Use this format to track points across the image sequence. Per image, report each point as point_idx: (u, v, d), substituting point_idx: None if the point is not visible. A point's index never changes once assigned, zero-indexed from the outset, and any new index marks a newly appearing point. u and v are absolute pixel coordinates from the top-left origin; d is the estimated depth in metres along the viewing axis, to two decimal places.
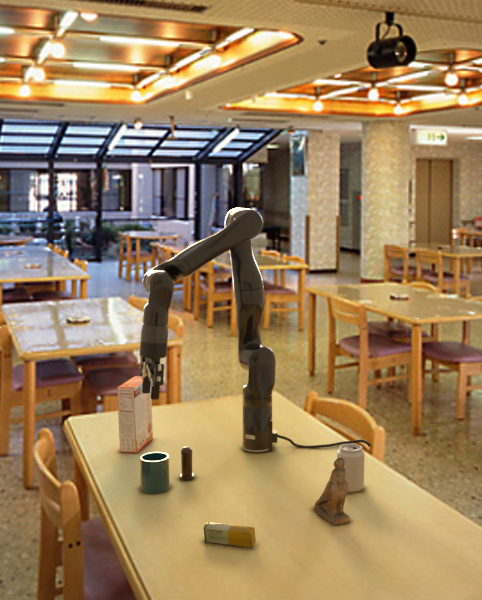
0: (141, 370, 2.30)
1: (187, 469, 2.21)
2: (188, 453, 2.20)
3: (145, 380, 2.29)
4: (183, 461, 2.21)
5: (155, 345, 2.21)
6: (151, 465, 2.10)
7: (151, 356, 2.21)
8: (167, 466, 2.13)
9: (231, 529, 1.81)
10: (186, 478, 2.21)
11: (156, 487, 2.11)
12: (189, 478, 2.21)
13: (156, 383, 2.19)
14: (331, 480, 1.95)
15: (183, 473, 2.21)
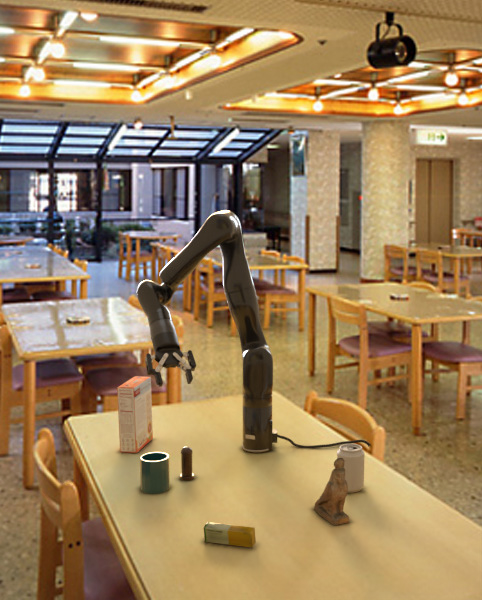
0: (190, 365, 2.36)
1: (187, 469, 2.21)
2: (188, 453, 2.20)
3: (186, 372, 2.33)
4: (183, 461, 2.21)
5: (152, 342, 2.36)
6: (151, 465, 2.10)
7: None
8: (167, 466, 2.13)
9: (231, 529, 1.81)
10: (186, 478, 2.21)
11: (156, 487, 2.11)
12: (189, 478, 2.21)
13: (147, 372, 2.29)
14: (331, 480, 1.95)
15: (183, 473, 2.21)
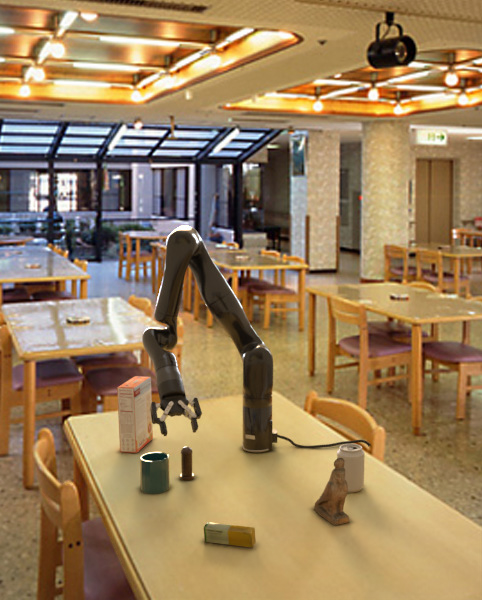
0: (196, 413, 2.33)
1: (187, 469, 2.21)
2: (188, 453, 2.20)
3: (191, 420, 2.30)
4: (183, 461, 2.21)
5: None
6: (151, 465, 2.10)
7: None
8: (167, 466, 2.13)
9: (231, 529, 1.81)
10: (186, 478, 2.21)
11: (156, 487, 2.11)
12: (189, 478, 2.21)
13: (152, 421, 2.26)
14: (331, 480, 1.95)
15: (183, 473, 2.21)
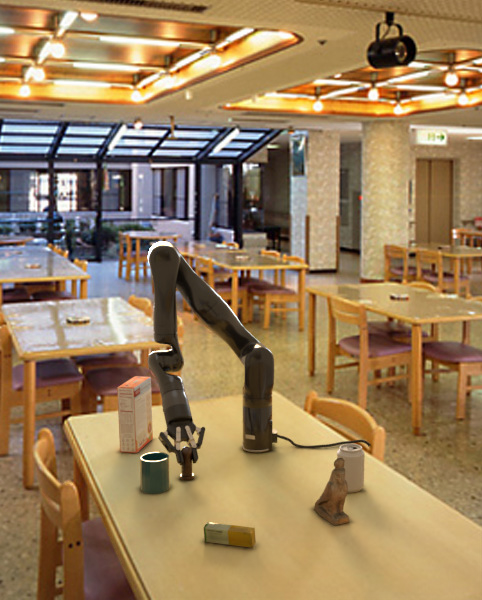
0: (198, 442, 2.26)
1: (186, 469, 2.21)
2: (188, 453, 2.20)
3: None
4: None
5: (164, 414, 2.28)
6: (151, 465, 2.10)
7: None
8: (167, 466, 2.13)
9: (231, 529, 1.81)
10: (186, 478, 2.21)
11: (156, 487, 2.11)
12: (189, 478, 2.21)
13: (168, 450, 2.21)
14: (331, 480, 1.95)
15: (183, 473, 2.21)
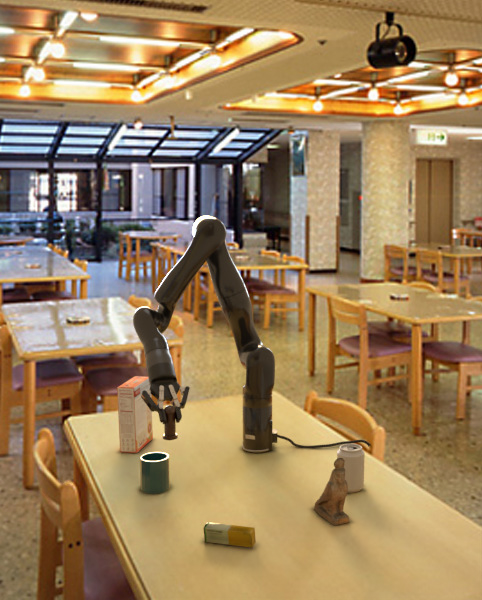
0: (182, 402, 2.21)
1: (170, 429, 2.15)
2: (171, 412, 2.15)
3: None
4: None
5: None
6: (151, 465, 2.10)
7: None
8: (167, 466, 2.13)
9: (231, 529, 1.81)
10: (169, 437, 2.15)
11: (156, 487, 2.11)
12: (172, 438, 2.15)
13: (151, 408, 2.16)
14: (331, 480, 1.95)
15: (166, 432, 2.16)
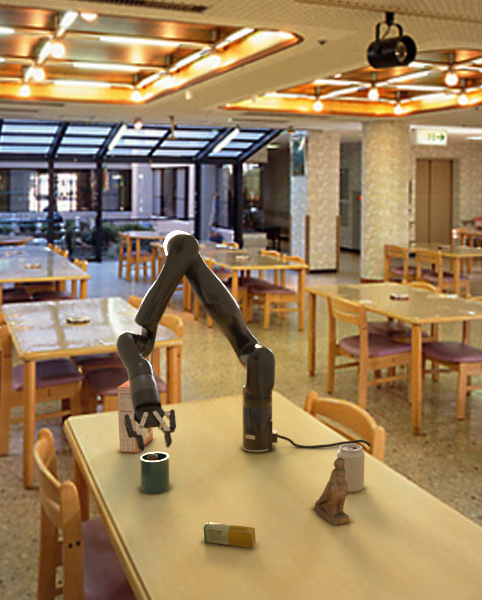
0: (170, 426, 2.18)
1: None
2: (154, 460, 2.12)
3: None
4: None
5: None
6: (151, 465, 2.10)
7: None
8: (167, 466, 2.13)
9: (231, 529, 1.81)
10: None
11: (156, 487, 2.11)
12: None
13: (128, 435, 2.12)
14: (331, 480, 1.95)
15: None
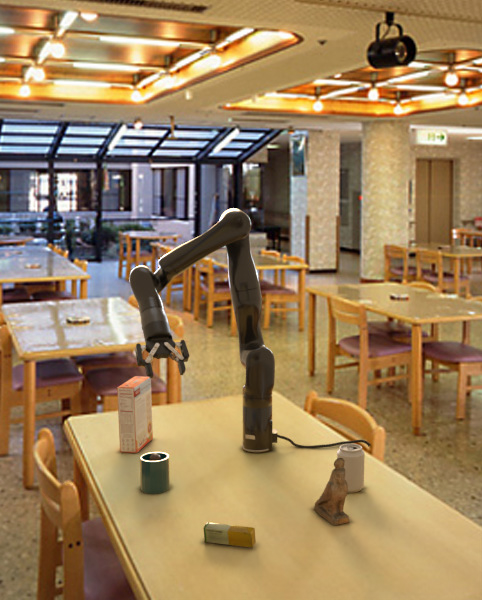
0: (183, 356, 2.24)
1: None
2: (156, 460, 2.13)
3: None
4: None
5: (143, 332, 2.23)
6: (151, 465, 2.10)
7: None
8: (167, 466, 2.13)
9: (231, 529, 1.81)
10: None
11: (156, 487, 2.11)
12: None
13: (137, 363, 2.17)
14: (331, 480, 1.95)
15: None
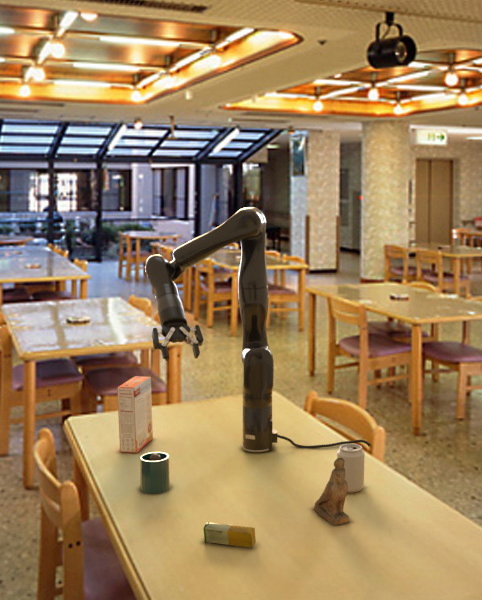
0: None
1: None
2: (156, 460, 2.13)
3: (193, 347, 2.31)
4: None
5: (159, 317, 2.33)
6: (151, 465, 2.10)
7: None
8: (167, 466, 2.13)
9: (231, 529, 1.81)
10: None
11: (156, 487, 2.11)
12: None
13: (154, 346, 2.27)
14: (331, 480, 1.95)
15: None
